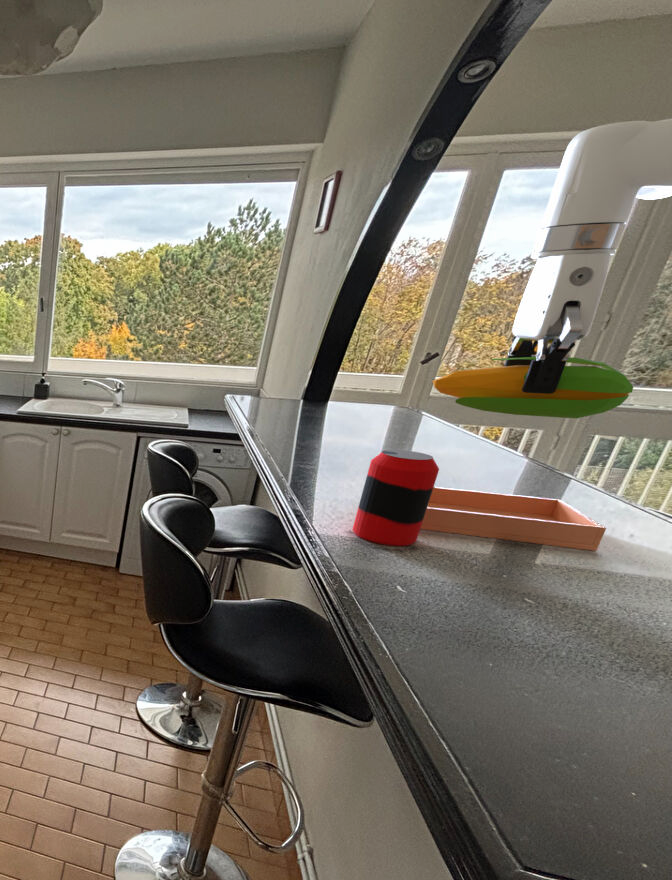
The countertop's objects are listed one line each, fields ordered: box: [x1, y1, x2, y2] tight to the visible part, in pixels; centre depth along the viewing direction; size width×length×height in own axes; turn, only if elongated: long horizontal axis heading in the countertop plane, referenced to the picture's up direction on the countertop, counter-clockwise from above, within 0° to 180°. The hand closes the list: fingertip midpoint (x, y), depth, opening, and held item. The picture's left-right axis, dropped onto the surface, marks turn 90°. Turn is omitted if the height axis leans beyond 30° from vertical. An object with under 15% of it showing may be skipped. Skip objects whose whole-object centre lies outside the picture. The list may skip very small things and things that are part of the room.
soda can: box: [352, 449, 440, 547], centre depth 82 cm, size 8×8×12 cm
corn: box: [432, 356, 634, 419], centre depth 80 cm, size 7×8×20 cm
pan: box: [420, 486, 607, 552], centre depth 89 cm, size 24×14×3 cm, turn 65°
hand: (525, 388), depth 79 cm, fingers closed on corn, 7 cm apart
